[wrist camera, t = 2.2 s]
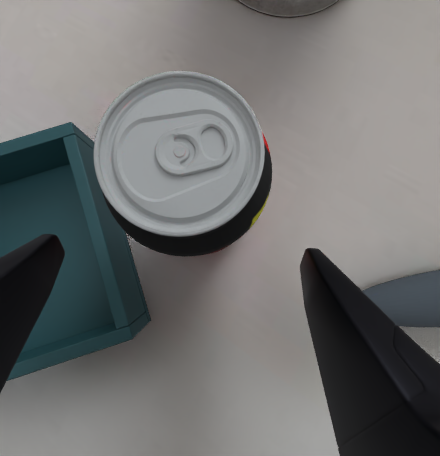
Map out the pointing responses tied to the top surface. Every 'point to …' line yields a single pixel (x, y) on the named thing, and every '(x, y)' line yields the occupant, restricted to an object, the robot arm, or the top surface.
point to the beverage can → (182, 163)
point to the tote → (69, 247)
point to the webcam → (288, 6)
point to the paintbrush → (410, 299)
